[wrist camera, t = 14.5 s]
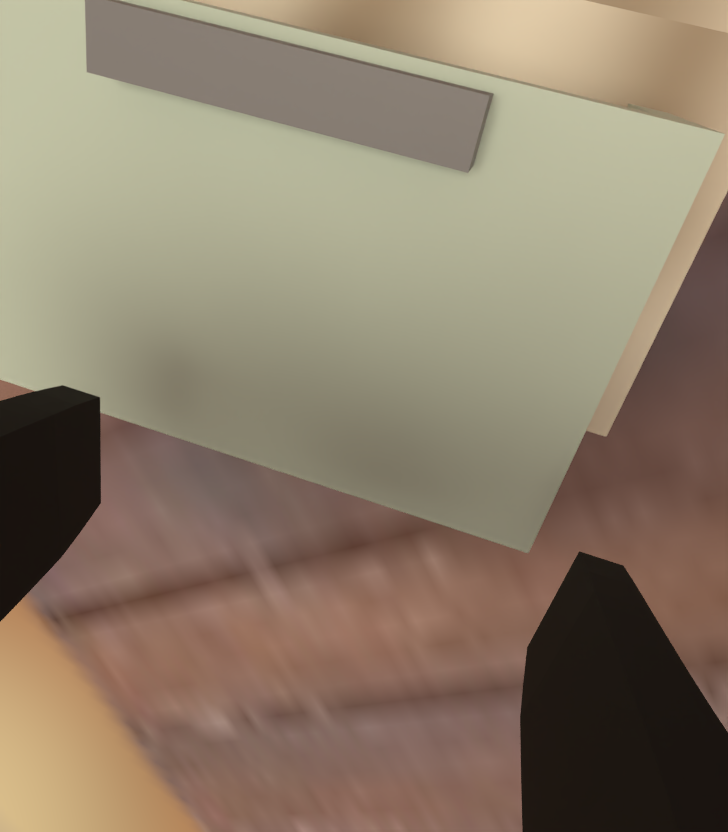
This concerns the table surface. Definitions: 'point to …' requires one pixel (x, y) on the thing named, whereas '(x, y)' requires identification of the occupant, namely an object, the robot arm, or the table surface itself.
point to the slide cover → (327, 249)
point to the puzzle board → (568, 85)
